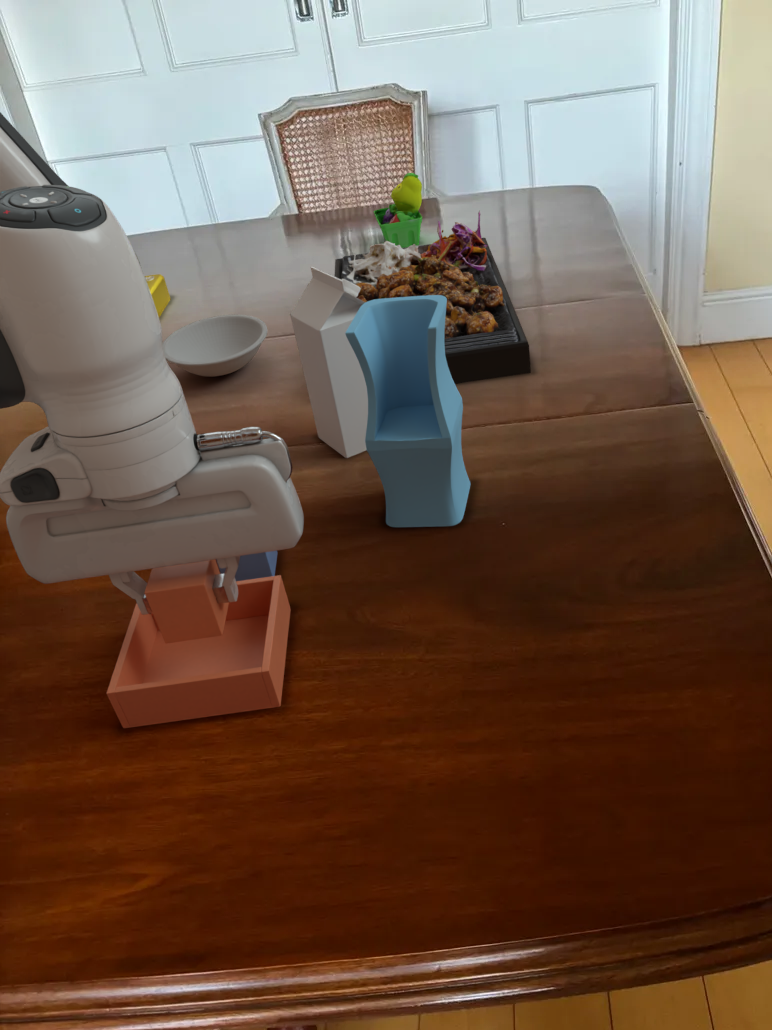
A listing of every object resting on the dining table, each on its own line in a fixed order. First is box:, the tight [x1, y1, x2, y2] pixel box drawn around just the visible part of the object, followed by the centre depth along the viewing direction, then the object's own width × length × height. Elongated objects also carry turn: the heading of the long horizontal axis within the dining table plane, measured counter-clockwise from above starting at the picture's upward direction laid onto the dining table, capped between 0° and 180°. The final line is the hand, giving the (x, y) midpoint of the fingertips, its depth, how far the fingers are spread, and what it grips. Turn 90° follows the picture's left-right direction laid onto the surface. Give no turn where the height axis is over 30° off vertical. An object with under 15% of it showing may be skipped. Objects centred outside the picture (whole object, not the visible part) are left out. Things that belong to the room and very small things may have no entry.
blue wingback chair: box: [345, 295, 471, 528], centre depth 83 cm, size 8×8×20 cm
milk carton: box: [289, 266, 368, 459], centre depth 97 cm, size 7×7×19 cm
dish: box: [163, 313, 268, 377], centre depth 122 cm, size 18×14×5 cm
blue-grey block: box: [215, 550, 278, 581], centre depth 82 cm, size 4×4×5 cm
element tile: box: [144, 273, 171, 318], centre depth 145 cm, size 15×15×5 cm
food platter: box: [333, 210, 532, 385], centre depth 126 cm, size 45×25×10 cm, turn 5°
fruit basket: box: [373, 172, 423, 248], centre depth 159 cm, size 11×9×11 cm
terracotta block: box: [144, 559, 229, 643], centre depth 69 cm, size 4×4×5 cm
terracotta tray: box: [106, 574, 292, 729], centre depth 72 cm, size 12×12×4 cm
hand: (190, 603), depth 69 cm, fingers closed on terracotta block, 4 cm apart
